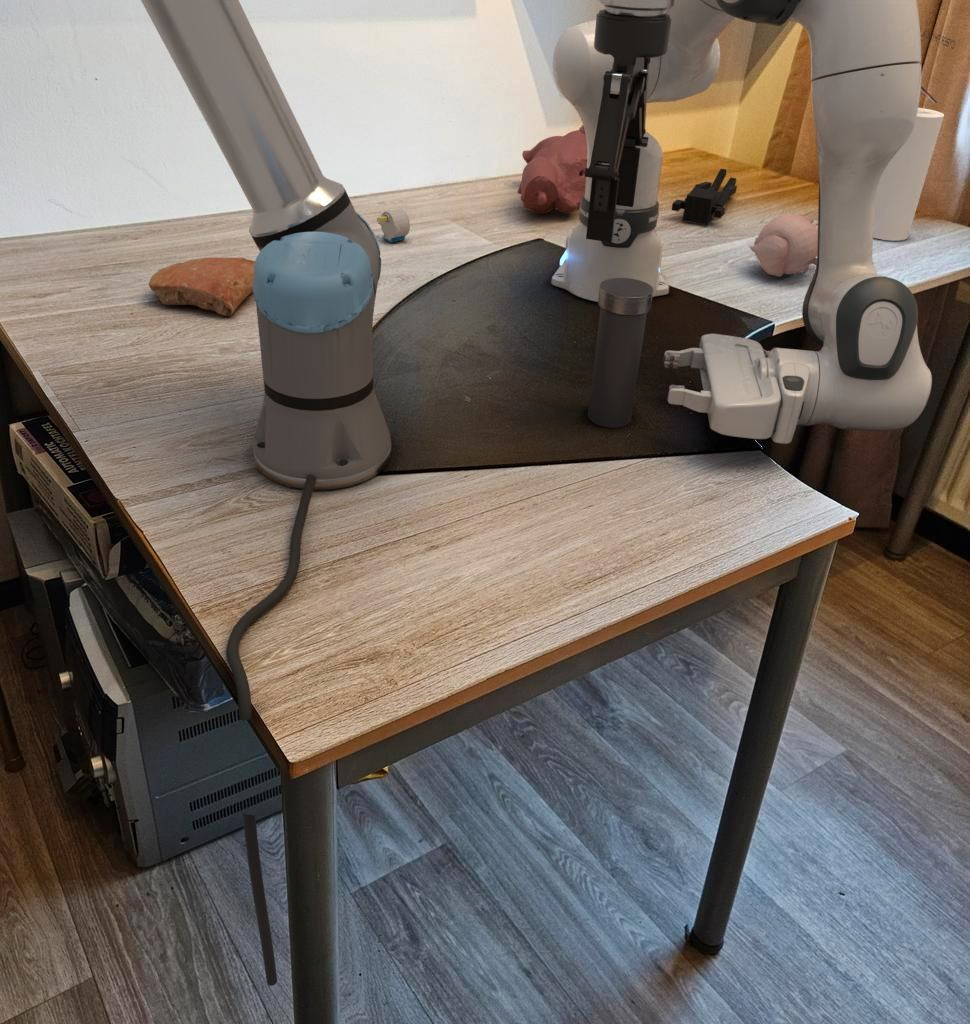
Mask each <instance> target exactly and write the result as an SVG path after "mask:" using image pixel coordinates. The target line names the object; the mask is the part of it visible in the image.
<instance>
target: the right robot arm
mask: <svg viewBox="0 0 970 1024" xmlns="http://www.w3.org/2000/svg"><path fill="white" fill-rule="evenodd" d="M667 14H669V15H670V18H671V19H672V20H671V27H670V35H669V42H668V50H667V52H666V53H665V54H664V55H663V56H660V57H655V58H651V60H650V63H649V71H648V73H649V80H648V84H647V102H646V104H652V103H670V102H671V103H672V102H677V101H681V100H685V99H688V98H691V97H693V96H696V95H699V94H703V93H704V92H706V91H707V90H708V89H709V88H710V87H711V85H712V84H713V83H714V80H715V79H716V77H717V74H718V71H719V68H720V64H721V47H720V46H721V45H720V42H719V38H718V37H719V36H720V35H721V34H722V33H723V31H725V30H726V28H727V27H728V26H729V25H730V24H731V23H732V22H733V21H734V20H735V19H738V20H742V21H745V22H750V23H755V24H762V25H763V24H764V25H770V26H775V27H782V26H783V25H784V24H785V23H786V22H791V23H792V22H795V23H797V24H799V25H800V26H802V27H803V29H804V30H805V32H806V34H807V35H808V39H809V46H810V47H809V48H810V81H811V82H810V98H811V100H810V101H811V111H812V122H813V132H814V140H815V149H816V150H815V151H816V161H817V171H818V172H817V173H818V206H817V207H818V211H817V213H818V214H817V221H818V251H817V257H816V258H817V263H816V265H815V269H814V272H813V276H812V278H811V280H810V283H809V284H808V288H807V290H806V292H805V295H804V299H803V303H802V309H801V315H802V322H803V326H804V328H805V330H806V332H807V334H808V335H809V336H810V338H811V339H812V340H813V341H814V342H815V343H816V344H818V345H819V346H821V349H820V350H807V349H796V348H795V349H794V348H784V347H783V348H782V347H773V348H772V349H770V350H766V349H764V347H763V346H762V345H761V343H759V342H758V341H756V340H754V339H750V338H747V337H739V336H734V335H728V334H727V335H726V334H721V333H707V334H704V335H701V337H700V339H699V340H700V341H699V345H698V347H689V348H686V349H681V350H665V352H664V353H663V359H662V362H663V367H664V368H665V369H669V370H671V369H672V370H678V369H679V367H690V368H691V369H699V375H700V380H701V385H702V390H700V391H695V390H691V389H687V388H686V387H685V385H681V384H679V385H676V384H671V385H669V386H668V388H667V394H666V395H667V396H666V397H667V403H668V404H670V405H675V406H677V405H678V406H683V407H685V408H687V409H689V410H692V411H693V412H694V411H695V412H697V413H703V414H707V418H708V422H709V423H708V424H709V428H710V429H711V430H712V431H714V432H715V433H718V434H720V435H723V436H726V437H727V436H728V437H734V438H743V439H753V440H767V439H769V438H771V440H772V441H773V442H774V443H776V444H784V445H787V444H788V445H789V444H791V443H792V442H793V438H794V435H795V432H796V429H797V426H802V427H803V426H804V427H810V426H815V425H828V426H832V427H834V428H837V429H839V430H849V431H866V432H867V431H868V432H887V431H896V430H901V429H905V428H907V427H909V426H911V425H912V424H914V423H915V421H916V420H917V419H918V418H919V417H920V416H921V415H922V414H923V412H924V410H925V408H926V407H927V406H928V403H929V400H930V397H931V393H932V387H933V375H932V372H931V370H930V368H929V367H928V365H927V363H926V362H925V359H924V357H923V354H922V350H921V346H920V342H919V341H920V340H919V334H918V321H919V307H918V303H917V300H916V298H915V296H914V294H913V292H912V291H911V289H910V288H909V287H907V285H906V284H904V283H903V282H901V281H900V280H897V279H895V278H892V277H889V276H885V275H881V274H878V273H877V270H876V268H875V266H874V265H875V264H874V261H873V246H874V237H873V226H874V203H875V194H876V189H877V185H878V183H879V180H880V178H881V175H882V173H883V171H884V170H885V168H886V166H887V165H888V163H889V162H890V160H891V159H892V158H893V156H894V155H895V154H896V153H897V152H898V150H899V149H900V148H901V147H902V146H903V145H904V143H905V142H906V141H907V140H908V138H909V137H910V135H911V133H912V132H913V129H914V126H915V121H916V116H917V111H918V108H919V106H920V99H921V92H922V91H921V86H922V64H921V63H922V39H921V38H922V36H921V31H920V30H921V28H920V27H921V25H920V16H919V8H918V1H917V0H675V2H674V6H673V7H672V8H671V9H669V10H667ZM595 27H596V19H592V20H590V21H586V22H582V23H579V24H576V25H572V26H569V27H567V28H566V29H565V30H564V31H563V32H562V34H561V35H560V37H559V38H558V40H557V42H556V44H555V47H554V50H553V53H552V62H551V69H552V76H553V79H554V83H555V86H556V87H557V89H558V91H559V93H560V94H561V95H562V97H563V98H565V100H566V101H567V102H569V103H570V104H571V106H572V107H573V108H574V109H575V111H576V112H577V114H578V116H579V119H580V121H581V123H582V125H583V126H584V129H585V133H586V139H587V168H589V167H590V163H591V157H592V151H593V146H594V140H595V134H596V128H597V123H598V117H599V111H600V106H601V100H602V93H603V85H604V80H603V78H604V75H605V72H606V71H611V69H612V66H613V62H614V57H613V56H612V55H605V54H602V53H599V52H598V51H596V49H595V48H594V38H595ZM644 137H648V145H647V147H641V146H636V148H641V150H640V158H639V166H638V174H637V182H636V190H635V198H634V206H633V207H627V206H619V205H616V211H615V220H614V229H613V238H612V241H611V242H605V241H598V240H590V239H586V234H587V224H588V214H589V204H590V194H591V183H592V178H590V177H586V185H585V194H584V195H583V196H582V199H581V204H580V207H579V208H578V210H579V215H578V221H579V223H578V225H577V226H576V227H575V228H573V230H572V231H571V232H570V233H568V234H567V235H566V239H565V248H566V249H565V251H564V253H563V254H562V256H561V258H560V260H559V267H558V269H556V271H555V272H554V274H553V275H552V276H551V279H550V284H551V285H552V286H555V287H557V288H561V289H562V290H563V289H564V290H566V291H567V292H569V293H570V294H573V296H576V297H578V298H581V299H584V300H588V301H590V302H591V301H592V302H596V303H598V297H599V289H600V284H601V282H603V281H604V280H607V279H612V278H630V279H636V280H640V281H643V282H645V283H648V284H649V285H651V286H652V287H653V290H654V291H653V298H654V297H660V296H665V295H668V294H669V293H670V286H669V284H668V283H667V281H666V280H665V278H664V276H662V274H661V269H662V268H661V267H662V259H663V252H664V241H663V240H662V238H661V236H660V235H658V233H657V231H656V229H655V228H656V227H657V224H658V219H659V215H660V212H659V211H660V210H659V208H660V203H659V201H658V196H659V188H660V183H661V176H662V168H663V163H664V162H663V160H664V153H663V148H662V146H661V145H660V143H659V141H658V140H657V139H656V138H655V137H654V135H652V134H651V133H649V132H647V131H646V132H645V134H644ZM602 164H604V165H610V164H605V163H602Z"/></svg>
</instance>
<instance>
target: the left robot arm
mask: <svg viewBox="0 0 970 1024" xmlns="http://www.w3.org/2000/svg"><path fill="white" fill-rule="evenodd" d="M140 2H141V3H142V5H143V7H144V9H145V11H146V14H147V15H148V16H149V18H150V20H151V22H152V24H153V26H154V27H155V29H156V32H157V33H158V35H159V37H160V39H161V41H162V43H163V45H164V46H165V48H166V50H167V52H168V54H169V55H170V58H171V60H172V61H173V63H174V65H175V67H176V68H177V71H178V72H179V75H180V76H181V78H182V80H183V82H184V84H185V85H186V88H187V89H188V91H189V93H190V94H191V97H192V99H193V101H194V102H195V104H196V106H197V108H198V110H199V112H200V114H201V116H202V117H203V119H204V121H205V122H206V125H207V126H208V128H209V131H210V132H211V134H212V136H213V138H214V140H215V141H216V143H217V145H218V147H219V149H220V151H221V153H222V155H223V156H224V159H225V160H226V162H227V164H228V166H229V168H230V170H231V171H232V174H233V175H234V177H235V180H236V181H237V183H238V185H239V187H240V188H241V191H242V192H243V194H244V196H245V198H246V199H247V202H248V204H249V205H250V208H251V209H252V219H251V222H250V226H249V229H248V232H249V234H250V236H251V238H252V240H253V243H254V244H255V245H256V247H257V249H258V251H259V252H258V253H257V256H256V258H255V260H254V261H255V265H254V278H253V291H252V294H253V296H254V301H255V307H256V317H257V326H258V327H257V328H258V337H259V348H260V357H261V358H260V359H261V368H262V378H263V388H264V390H263V391H264V396H263V400H262V404H261V408H260V412H259V415H258V419H257V423H256V427H255V430H254V434H253V439H252V441H253V442H252V455H253V460H254V464H255V467H256V468H257V470H258V471H259V472H260V473H261V474H262V475H263V476H265V477H266V478H268V479H269V480H271V481H273V482H275V483H278V484H280V485H283V486H286V487H290V488H295V489H301V490H302V494H301V497H300V501H299V505H298V509H297V513H296V516H295V519H294V524H293V527H292V531H291V536H290V545H289V560H288V566H287V569H286V572H285V574H284V576H283V578H282V580H281V581H280V583H279V584H278V585H277V586H276V588H274V589H273V591H272V592H271V593H269V594H268V595H267V596H265V597H264V598H263V599H262V600H260V601H259V602H258V603H257V604H255V605H254V606H252V607H251V608H250V609H248V610H247V611H246V612H245V613H244V614H243V615H242V616H241V617H240V618H239V619H238V621H237V622H236V623H235V625H234V626H233V627H232V630H231V632H230V634H229V637H228V640H227V645H226V650H225V651H226V659H227V663H228V666H229V669H230V671H231V674H232V676H233V680H234V685H235V689H236V695H237V706H238V718H239V720H240V721H242V722H245V721H248V720H250V719H251V718H252V714H253V713H252V712H253V709H252V698H251V697H252V696H251V695H252V694H251V689H250V683H249V679H248V676H247V673H246V670H245V667H244V665H243V662H242V660H241V656H240V642H241V640H242V638H243V635H244V634H245V632H247V630H248V628H249V627H250V626H251V625H252V624H253V623H254V622H255V621H257V620H258V618H259V617H261V616H262V615H264V614H265V613H266V612H267V611H269V609H271V608H272V607H274V606H275V605H276V604H277V603H278V602H280V600H281V599H283V598H284V596H286V595H287V593H288V592H289V591H290V589H291V587H292V586H293V585H294V582H295V580H296V578H297V575H298V573H299V568H300V564H301V549H302V547H301V545H302V536H303V531H304V527H305V522H306V518H307V515H308V511H309V507H310V504H311V499H312V495H313V492H314V490H315V491H323V490H327V491H328V490H337V489H342V488H348V487H351V486H355V485H358V484H361V483H363V482H366V481H368V480H370V479H373V478H374V477H375V476H377V475H378V474H380V473H381V472H382V471H383V470H384V469H385V468H386V467H387V466H388V464H389V463H390V461H391V458H392V438H391V432H390V430H389V427H388V424H387V422H386V419H385V417H384V413H383V411H382V408H381V406H380V403H379V400H378V398H377V395H376V393H375V385H374V341H373V340H374V339H373V338H374V336H373V333H374V332H373V330H374V329H373V328H374V326H373V323H374V310H375V306H376V305H375V304H376V297H377V292H378V291H377V290H378V285H379V281H380V277H381V272H382V258H381V253H382V252H381V248H380V246H379V241H378V239H377V236H376V234H375V232H374V230H373V229H372V228H371V225H370V224H369V222H368V221H367V220H366V219H365V218H364V217H363V216H362V215H361V214H359V213H358V212H357V211H356V209H355V207H354V205H353V203H352V200H351V199H350V197H349V195H348V193H347V191H346V188H345V187H344V185H343V184H342V183H340V182H337V181H334V180H332V179H329V178H327V177H326V176H324V174H323V172H322V170H321V168H320V166H319V164H318V161H317V160H316V158H315V156H314V153H313V151H312V150H311V147H310V145H309V143H308V141H307V139H306V136H305V135H304V133H303V130H302V129H301V126H300V124H299V122H298V120H297V118H296V116H295V114H294V112H293V110H292V108H291V106H290V103H289V101H288V100H287V97H286V95H285V93H284V91H283V89H282V87H281V85H280V84H279V80H278V79H277V77H276V75H275V73H274V70H273V69H272V67H271V65H270V63H269V59H268V58H267V56H266V54H265V52H264V49H263V48H262V46H261V44H260V42H259V39H258V37H257V35H256V33H255V31H254V29H253V27H252V26H251V22H250V21H249V19H248V17H247V15H246V13H245V11H244V8H243V6H242V5H241V2H240V0H140ZM674 2H675V0H598V3H599V5H601V6H603V9H601V10H599V11H598V13H596V16H595V17H596V18H595V20H596V27H595V38H594V48H595V49H596V51H598V52H599V53H602V54H605V55H612V56H613V57H614V62H613V66H612V69H611V71H606V72H605V75H604V78H603V80H604V85H603V93H602V100H601V106H600V111H599V117H598V123H597V128H596V134H595V140H594V146H593V151H592V157H591V163H590V167H589V168H585V177H590V178H592V183H591V194H590V204H589V214H588V224H587V234H586V239H590V240H598V241H605V242H611V241H612V238H613V229H614V220H615V211H616V205H619V206H627V207H633V206H634V198H635V190H636V182H637V174H638V166H639V158H640V150H641V148H636V146H641V147H647V145H648V137H644V134H645V132H647V129H646V120H647V119H646V118H647V103H646V102H647V84H648V80H649V73H648V71H649V63H650V60H651V58H655V57H660V56H663V55H664V54H665V53H666V52H667V50H668V42H669V35H670V27H671V20H672V19H671V18H670V15H669V14H667V10H669V9H671V8H672V7H673V6H674ZM602 163H605V164H610V165H604V164H602ZM256 819H257V817H256V814H248V813H247V814H246V813H242V822H243V830H244V840H245V848H246V857H247V865H248V873H249V877H250V878H249V879H250V885H251V892H252V897H253V903H254V910H255V916H256V921H257V927H258V932H259V939H260V945H261V952H262V959H263V966H264V972H265V980H266V984H267V986H270V987H273V986H275V985H276V984H277V982H278V974H277V966H276V960H275V952H274V945H273V938H272V932H271V925H270V918H269V913H268V907H267V900H266V893H265V887H264V879H263V873H262V865H261V859H260V857H261V855H260V849H259V848H260V847H259V839H258V828H257V820H256Z"/></svg>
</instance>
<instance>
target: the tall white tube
mask: <svg viewBox="0 0 970 1024" xmlns="http://www.w3.org/2000/svg"><path fill="white" fill-rule="evenodd" d="M921 31H922V27H921V26H920V32H921ZM927 33H928V35H927ZM920 37H921V38H922V37H923V38H924V37H925V39H928V40H930V41H931V40H932V41H933V42H937V40H938V44H939V43H940V44H942V45H943V46H946V47H947V48H948V47H949V49H950V48H951V49H952V50H953V49H954V48H955V45H956V40H954V39H951V38H948V37H946V36H942V37H941V34H938V35H937V33H934V32H933V31H931V30H926V29H923V34H920ZM940 37H941V38H940ZM940 39H941V42H940ZM945 39H946V40H945ZM944 42H945V43H944ZM952 43H954V44H953V46H952ZM921 92H922V95H923V96H924V97H926V98H928V99H929V100H930V101H931V102H932V103H934V104H937V103H938V101H937V100H936V99H935V98H934V97H932V95H931V94H930V93H929V92H928V91H927V90H926V89H925V88H924V87H923V86H922V85H921ZM944 117H945V114H944V113H943V112H940V111H937V110H936V109H935V110H934V109H929V108H924V107H918V111H917V116H916V121H915V126H914V129H913V132H912V133H911V135H910V137H909V138H908V140H907V141H906V142H905V143H904V145H903V146H902V147H901V148H900V149H899V150H898V152H897V153H896V154H895V155H894V156H893V158H892V159H891V160H890V162H889V163H888V165H887V166H886V168H885V170H884V171H883V173H882V175H881V178H880V180H879V183H878V185H877V189H876V194H875V203H874V226H873V239H878V240H884V241H893V242H895V241H897V242H898V241H899V242H900V241H905V240H907V239H909V236H910V233H911V229H912V226H913V222H914V219H915V215H916V211H917V210H918V209H917V208H918V206H919V202H920V198H921V195H922V191H923V188H924V184H925V182H926V178H927V175H928V171H929V169H930V165H931V161H932V158H933V155H934V151H935V148H936V145H937V142H938V141H937V140H938V138H939V134H940V130H941V127H942V124H943V121H944Z"/></svg>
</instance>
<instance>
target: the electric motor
mask: <svg viewBox="0 0 970 1024" xmlns="http://www.w3.org/2000/svg"><path fill="white" fill-rule="evenodd" d="M376 222H377V224H378V225H380V227H381V231H382V233H383V238H384V240H385V241H388V242H389V243H394V242H395V243H396V242H399V241H404V240H405V238H406V236H407V235H409V233H410V229H411V222H410V218H409V216H408V213H407V212H406V210H404V209H403V208H397V209H392V210H387V211H384V212H383V213H382V214H381V216H378V217H377V218H376Z"/></svg>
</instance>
